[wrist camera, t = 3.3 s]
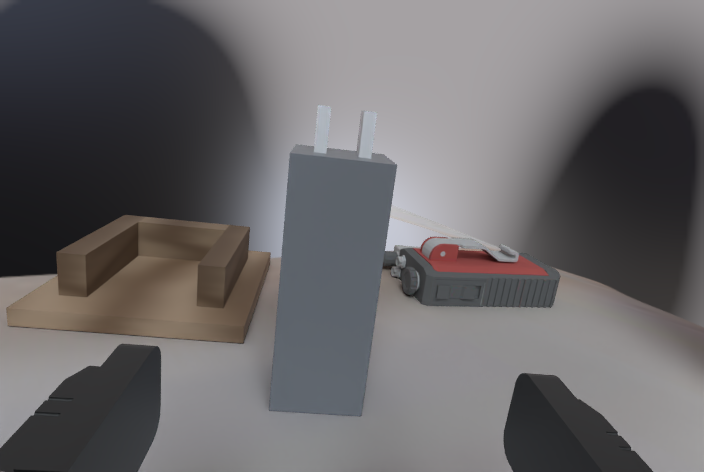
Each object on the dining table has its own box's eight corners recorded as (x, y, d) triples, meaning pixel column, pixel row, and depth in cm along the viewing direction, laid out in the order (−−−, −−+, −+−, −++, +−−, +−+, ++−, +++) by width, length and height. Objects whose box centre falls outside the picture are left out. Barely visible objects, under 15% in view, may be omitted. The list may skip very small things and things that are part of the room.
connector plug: (355, 366, 24) (389, 114, 21) (361, 416, 20) (404, 115, 17) (277, 361, 24) (299, 103, 20) (269, 410, 20) (294, 102, 16)
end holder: (269, 264, 37) (272, 222, 36) (243, 343, 25) (247, 282, 24) (116, 250, 36) (115, 207, 35) (7, 325, 24) (2, 261, 23)
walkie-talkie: (510, 273, 44) (302, 266, 39) (520, 229, 43) (307, 215, 38) (571, 313, 36) (318, 311, 31) (585, 260, 35) (324, 248, 30)
